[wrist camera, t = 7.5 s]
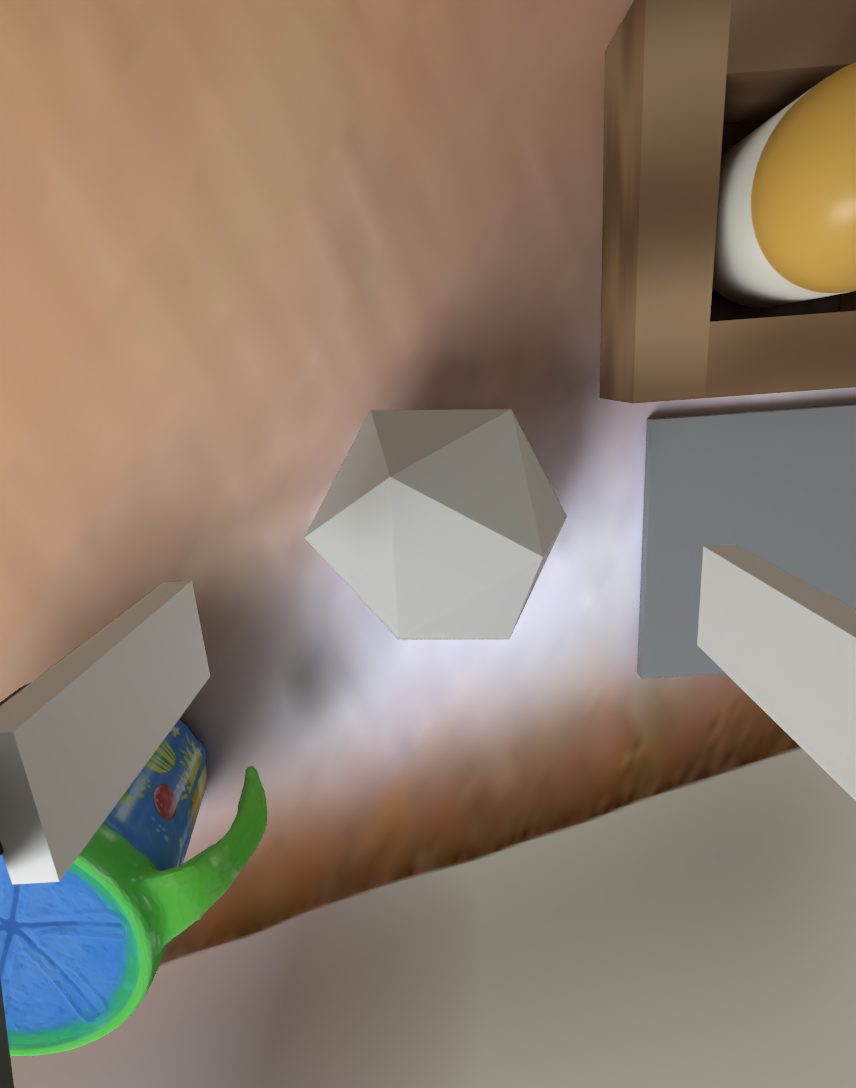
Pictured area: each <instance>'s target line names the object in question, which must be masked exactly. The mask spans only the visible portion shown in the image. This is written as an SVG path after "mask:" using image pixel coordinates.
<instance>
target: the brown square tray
mask: <svg viewBox="0 0 856 1088" xmlns="http://www.w3.org/2000/svg"><path fill="white" fill-rule="evenodd" d="M854 62H856V0H634V2H633V3H632V5H631V7H630V9H629V11H628V12H627V14H626V16H625V18H624V20H623V21H622V23H621V25H620V27H619V28H618V30H617V32H616V34H615V36H614V37H613V39H612V41H611V43H610V44H609V46H608V48H607V50H606V52H605V109H604V173H603V237H602V301H601V365H600V398H603V399H610V400H616V401H622V402H629V403H643V402H656V401H670V400H684V399H698V398H712V397H726V396H739V395H753V394H767V393H781V392H795V391H808V390H822V389H836V388H850V387H856V291H852V292H848V293H842V294H841V300H840V308H839V312H833V313H819V314H806V315H792V316H779V317H766V318H752V319H739V320H726V321H712V322H710V313H711V299H712V284H713V269H714V254H715V239H716V224H717V209H718V194H719V179H720V164H721V149H722V134H723V124H724V123H737V122H749V121H761V120H769V119H770V118H771V117H773V116H774V115H776V114H777V113H778V112H780V111H781V110H782V109H784V108H785V107H786V106H788V105H789V104H791V103H792V102H793V101H795V100H796V99H797V98H799V97H800V96H801V95H803V94H804V93H805V92H807V91H808V90H810V89H811V88H813V87H814V86H815V85H817V84H818V83H819V82H821V81H822V80H824V79H825V78H827V77H829V76H830V75H832V74H833V73H835V72H837V71H838V70H840V69H842V68H843V67H846V66H848V65H850V64H852V63H854Z"/></svg>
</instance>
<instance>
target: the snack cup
mask: <svg viewBox="0 0 856 1088" xmlns="http://www.w3.org/2000/svg"><path fill="white" fill-rule="evenodd" d="M206 780H207V777H206V751H205V749H204V747H203V745H202V743H200V742H199V741H198V740H197V739H196V738H195V736H194V735H193V733H192V732H191V731H190V730H189V728H188V727H187V726H186V725H185V724H184V723H183V722H182V721H181V720H178V721H177V723H176V724H175V725H174V727H173V728H172V729H171V731H170V732H169V733H168V735H167V736H166V737H165V739H164V740H163V742H162V743H161V744H160V746H159V747H158V748H157V750H156V751H155V752H154V754H153V755H152V757H151V758H150V759H149V761H148V762H147V763H146V765H145V766H144V767H143V769H142V770H141V771H140V773H139V774H138V776H137V777H136V778H135V780H134V781H133V782H132V784H131V785H130V786H129V788H128V789H127V791H126V792H125V793H124V795H123V796H122V797H121V799H120V800H119V801H118V803H117V804H116V805H115V807H114V808H113V810H112V811H111V812H110V814H109V815H108V816H107V818H106V819H105V820H104V822H103V823H102V825H101V826H100V827H99V829H98V830H97V831H96V833H95V834H94V835H93V837H92V838H91V839H90V841H89V842H88V844H87V845H86V846H85V848H84V849H83V850H82V852H81V853H80V854H79V856H78V857H77V859H76V860H75V861H74V863H73V864H72V865H71V867H70V868H69V869H68V871H67V872H66V873H65V875H64V876H63V878H62V879H61V880H60V882H48V883H31V884H13V885H12V882H11V879H10V876H9V873H8V870H7V867H6V864H5V861H4V858H3V855H1V856H0V978H1V986H2V994H3V1002H4V1010H5V1019H6V1027H7V1035H8V1043H9V1051H10V1055H12V1056H35V1055H45V1054H51V1053H57V1052H62V1051H66V1050H71V1049H74V1048H77V1047H80V1046H83V1045H85V1044H88V1043H90V1042H92V1041H95V1040H97V1039H99V1038H101V1037H103V1036H105V1035H107V1034H108V1033H109V1032H111V1031H112V1030H114V1029H116V1028H117V1027H119V1026H120V1025H121V1024H123V1023H124V1022H125V1021H126V1020H127V1019H128V1018H129V1017H130V1016H131V1015H132V1013H133V1012H134V1011H135V1010H136V1009H137V1007H138V1006H139V1004H140V1003H141V1001H142V1000H143V998H144V996H145V994H146V992H147V990H148V989H149V987H150V985H151V983H152V981H153V978H154V976H155V974H156V971H157V969H158V967H159V964H160V962H161V959H162V956H163V953H164V949H165V946H166V944H167V943H168V942H170V941H171V940H172V938H174V937H175V936H177V935H178V934H179V933H181V932H182V931H184V930H185V929H186V928H188V927H189V926H190V925H191V924H192V923H194V922H195V921H197V920H200V919H201V918H202V916H203V915H204V913H205V912H206V911H207V910H208V909H209V907H210V906H212V905H213V904H214V903H215V902H216V901H217V900H218V899H219V898H220V897H221V896H222V895H223V894H224V893H225V891H226V890H227V889H228V888H229V887H230V885H231V884H232V883H233V881H234V880H235V878H236V877H237V876H238V875H239V873H240V872H241V871H242V870H243V868H244V867H245V865H246V864H247V862H248V860H249V858H250V857H251V856H252V854H253V852H254V851H255V850H256V848H257V846H258V844H259V842H260V840H261V838H262V836H263V834H264V832H265V828H266V825H267V806H266V798H265V793H264V789H263V787H262V784H261V781H260V779H259V776H258V773H257V770H256V769H255V768H254V767H253V766H250V767H248V768H247V769H246V775H245V783H244V787H243V790H242V794H241V797H240V801H239V805H238V813H237V816H236V818H235V820H234V822H233V824H232V826H231V828H230V830H229V831H228V832H227V834H226V835H225V836H224V837H223V838H222V839H221V840H220V841H218V842H217V843H216V844H214V845H212V846H210V847H208V848H207V849H206V850H204V851H202V852H201V853H199V854H198V855H196V856H195V857H194V858H192V859H190V860H189V861H187V862H185V863H184V864H183V861H184V858H185V855H186V852H187V848H188V845H189V842H190V839H191V835H192V832H193V829H194V825H195V822H196V819H197V815H198V812H199V809H200V805H201V802H202V799H203V796H204V792H205V788H206Z"/></svg>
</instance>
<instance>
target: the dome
mask: <svg viewBox="0 0 856 1088" xmlns="http://www.w3.org/2000/svg"><path fill="white" fill-rule="evenodd" d="M712 288H713V289H714V290H716V291H717V292H718V293H719V294H720V295H722V296H723V297H725V298H726V299H728V300H730V301H732V302H734V303H737V304H740V305H744V306H749V307H771V306H778V305H783V304H788V303H794V302H799V301H805V300H810V299H815V298H821V297H826V296H832V295H837V294H842V293H848V292H852V291H856V62H854V63H852V64H850V65H848V66H846V67H843V68H842V69H840V70H838V71H837V72H835V73H833V74H832V75H830V76H829V77H827V78H825V79H824V80H822V81H821V82H819V83H818V84H817V85H815V86H814V87H813V88H811V89H810V90H808V91H807V92H805V93H804V94H803V95H801V96H800V97H799V98H797V99H796V100H795V101H793V102H792V103H791V104H789V105H788V106H786V107H785V108H784V109H782V110H781V111H780V112H778V113H777V114H776V115H774V116H773V117H771V118H770V119H769V120H767V121H766V122H765V123H763V124H762V125H761V126H759V127H758V128H756V129H755V130H754V131H752V132H751V133H750V134H748V135H747V136H746V137H744V138H743V139H741V140H740V141H739V142H737V143H736V144H735V145H734V146H732V147H731V148H730V149H729V150H728V151H727V152H726V153H725V154H724V155H723V156H722V157H721V164H720V179H719V194H718V209H717V224H716V239H715V254H714V269H713V284H712Z"/></svg>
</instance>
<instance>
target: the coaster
mask: <svg viewBox="0 0 856 1088" xmlns="http://www.w3.org/2000/svg"><path fill="white" fill-rule="evenodd" d="M728 544H734V545H736V546H738V547H740V548H742V549H744V550H746V551H747V552H749V553H751V554H753V555H755V556H757V557H759V558H761V559H762V560H764V561H766V562H768V563H770V564H772V565H774V566H776V567H777V568H779V569H781V570H783V571H785V572H787V573H789V574H791V575H792V576H794V577H796V578H798V579H800V580H802V581H804V582H806V583H807V584H809V585H811V586H813V587H815V588H817V589H819V590H821V591H822V592H824V593H826V594H828V595H830V596H832V597H834V598H836V599H837V600H839V601H841V602H843V603H845V604H847V605H849V606H851V607H852V608H854V609H856V404H847V405H834V406H820V407H806V408H792V409H778V410H764V411H750V412H736V413H722V414H708V415H694V416H680V417H667V418H653V419H647V437H646V463H645V488H644V514H643V539H642V565H641V590H640V616H639V641H638V667H637V673H638V674H639V676H640V677H641V678H642V679H646V678H662V677H677V676H693V675H709V674H725V672H724V671H723V670H722V669H721V668H720V667H719V666H718V665H717V664H716V663H715V662H714V661H713V660H712V659H711V658H710V657H709V656H708V655H707V654H706V653H705V652H704V651H703V650H702V649H701V648H699V647H698V646H697V638H698V622H699V606H700V591H701V575H702V559H703V546H713V545H728Z"/></svg>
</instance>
